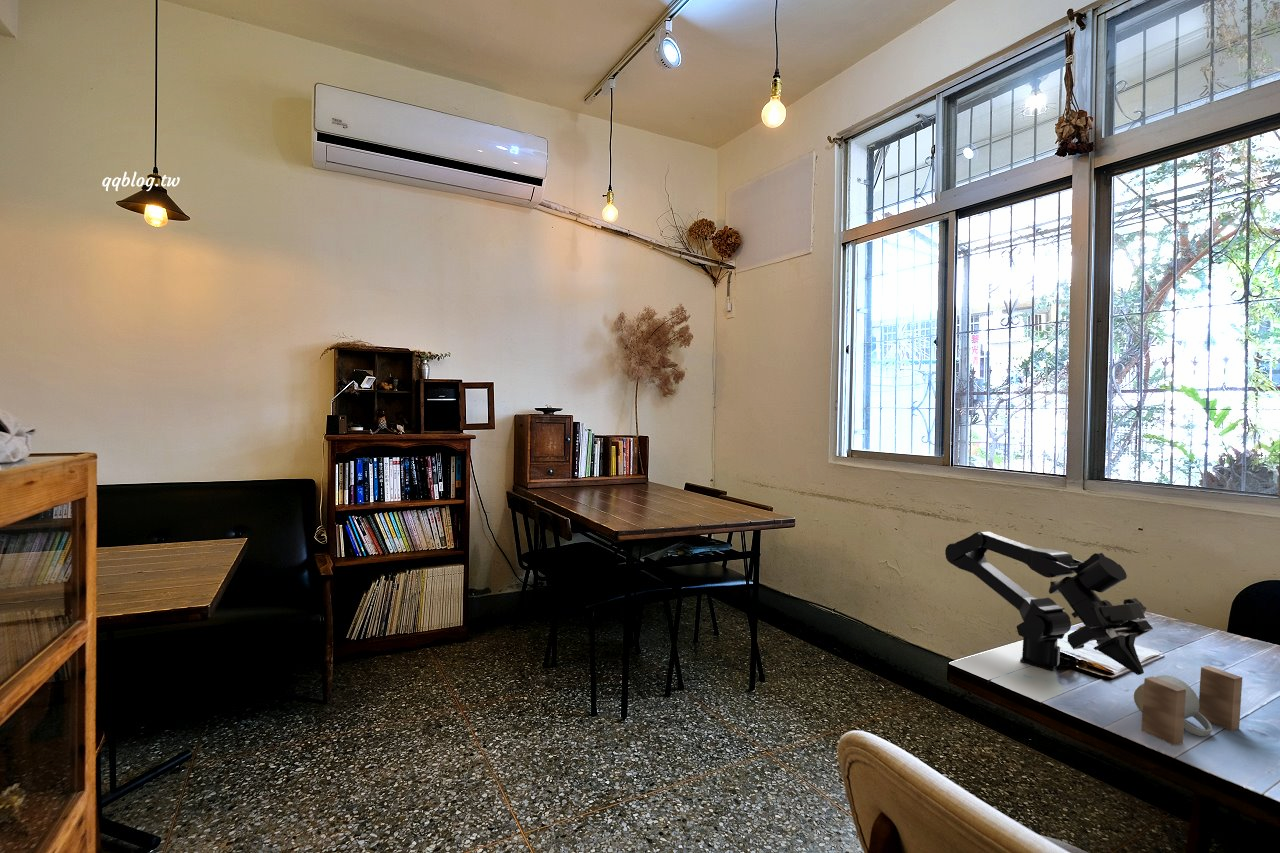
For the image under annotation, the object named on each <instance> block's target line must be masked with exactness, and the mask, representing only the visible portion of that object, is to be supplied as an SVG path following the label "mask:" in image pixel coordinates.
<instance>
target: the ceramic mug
mask: <svg viewBox="0 0 1280 853" xmlns="http://www.w3.org/2000/svg"><path fill="white" fill-rule="evenodd" d="M1155 677H1156V678H1158V679H1161V680H1164V681H1166V682H1169V683H1171V684H1174V685H1176V686H1179V687H1182V688H1184V689H1186V697H1185V714H1184V730H1185V731H1187V732H1189V733H1191V734H1193V735H1196V736H1199V737H1207V736H1209V735H1210V733H1212V731H1213V726H1212V724H1211V722H1209V721H1208V720H1207V719H1206V718H1205V717H1204V716H1203V715H1202V714H1201V713H1200V712H1198V710H1199V696H1197V694H1196V692H1195V691H1194V689H1193V688H1192V687H1191V686H1190V685H1189V684H1187V683H1186V682H1185V681H1183V680H1182V679H1180V678H1178V677H1175V676H1172V675H1167V674H1166V675H1165V674H1162V675H1157V676H1155ZM1134 690H1135V691H1134V694H1133V701H1134V705H1135V706H1136V708H1137V709H1138V711H1139V712H1141V714H1143V696H1144V683H1141V684H1140V685H1138V686H1137V688H1136V689H1134ZM1189 718H1194V719H1195V720H1196V721H1197V722H1199V724H1201V726H1202V727H1203V728H1204V729H1201V728H1198V727H1196V726H1194V725H1192V724H1191V723H1190V722H1188V721H1186V719H1189Z"/></svg>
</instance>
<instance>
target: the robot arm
mask: <svg viewBox="0 0 1280 853" xmlns="http://www.w3.org/2000/svg"><path fill="white" fill-rule="evenodd" d="M944 551H945V552H944V554H945V559H946V560H947V562H948V563H949V564H951V565H953V567H956V568H957V569H959V570H961V571H966V572H968V573H971V574H972V575H974V576H975V577H977V578H978V579H979V580H980V581H982V582H983V584H986V586H987V587H989V588H990V589H991V590H993V591H994V592H995V593H996V594H998V595H999V596H1000V597H1001V598H1002V599H1004V600H1005V601H1006V602H1007V603H1009V604H1010V605H1012V607H1013V608H1015V609H1016V611H1017V610H1018V611H1019V615H1020V617H1021V619H1022V621H1023V622H1021V623H1019V624H1018V625H1016V630H1017V631H1016V632H1017V634H1018V636H1020V637H1022V652H1021V653H1022V654H1021V657H1020V659H1019V661H1020V662H1022V663H1025V664H1028V665H1031V666H1036V667H1038V668H1041V669H1045V670H1049V671H1054V669H1056V667H1058V666H1059V665H1060V658H1061V657H1060V656H1061V655H1060V654H1061V647H1060V646H1059V645H1058V640H1061V639H1062V640H1063V638H1064V636H1065V634H1067V633H1068V632H1070V631H1071V627H1072V621H1071V617H1070V616H1069V614H1068V613H1067V612H1066V611H1065V607H1062V606H1060V605H1058V604H1057V603H1056V602H1055V601H1054V600H1053V599H1051V598H1050V597H1040V598H1036V597H1035V596H1033V595H1032V594H1030V593H1029V592H1028V591H1026V590H1025V589H1023V588H1022V586H1020V585H1019V584H1018V583H1016V582H1014V580H1012V579H1011V578H1009V577H1008V576H1006V575H1005V573H1003V572H1002V571H1000V570H999V569H998V568H997V567H995V566H994V565H992V564H991V563H990V562H988V560H987V558H986V556H985V554H986V553H988V551H990V552H994V553H997V554H999V555H1001V556H1004V557H1007V558H1009V559H1010V558H1011V559H1013V560H1015V561H1018V562H1022V563H1023V564H1025V565H1026V566H1028V568H1029V569H1030V570H1032V571H1033V572H1035V573H1037V574H1038V575H1040V576H1042V577H1044V578H1048V579H1052V578H1060V577H1064V578H1062V579H1061V580H1059V581H1058V580H1053V581H1050V582H1049V584H1050V586H1049V589H1048V593H1049V594H1050V595H1051V594H1052V595H1054V594H1061V595H1062V597H1063V599H1064V600H1065V601H1066V602H1067V604H1068V605H1069V607H1071V609H1072V610H1073V611H1074V612H1072V613H1071V616H1072V617H1073V619H1079V620H1080V621H1081V622H1082V623H1083V626H1081V627H1079V628H1078V629H1076V630H1074V631H1073V632H1071V633H1069V634H1067V643H1068V644H1069V646H1070V647H1071V648H1072V649H1073V650H1079V649H1084V648H1085V644H1087V643H1089V642H1093V641H1096V642H1095V643H1096V644H1097V645H1096V646H1095V647H1093V649H1094V650H1095V651H1098V652H1100V653H1101V654H1103V655H1105V656H1107V657H1109V658H1110V659H1112V660H1114V661H1115V662H1117V663H1118V664H1120V665H1121V666H1123V667H1124V668H1126V669H1127V670H1129V671H1131V672H1132V673H1133V674H1135V675H1137V676H1140V675H1143V674H1144V673H1145V671H1144V668H1143V667H1142V664H1141V660H1140V659H1139V656H1138V654H1137V650H1136V647H1135V641H1136V639H1137V638H1139V637H1141V636H1143V635H1145V634H1146V633H1147V634H1148V633H1150V632H1151V631H1153V630H1154V628H1153V626H1152V625H1151V624H1150V623H1149V622H1148V620H1146V616H1145V613H1146V611H1147V607H1146V606H1145V605H1143V603H1142V602H1140V601H1139V599H1137V598H1136V597H1135V598H1134V597H1133V598H1126V599H1123V603H1122V604H1117V605H1113V604H1112V603H1111V602H1110V601H1109V600H1107V599H1104V600H1102V599H1101V598H1100V597H1099V596H1098V594H1097V593H1105V592H1106V591H1108V590H1109V589H1111V588H1113V587H1116V586H1117V585H1118V584H1120V583H1122V582H1124V580H1126V579H1127V577H1128V575H1127V572H1126V571H1125V569H1124V568H1123V566H1122V565H1121V564H1120V563H1117V562H1116V561H1114V560H1113V559H1112V558H1110V557H1107V556H1105V554H1104V553H1103V552H1095V553H1093V554H1091V555H1090V556H1089V558H1088V559H1086V560H1084V561H1081V560H1079V559H1076V558H1074V557H1073V555H1072V554H1070V553H1069V552H1067V551H1063V550H1057V549H1051V548H1040V547H1034V546H1031V545H1028V544H1025V543H1022V542H1019V541H1016V540H1013V539H1010V538H1008V537H1004V536H1001V535H999V534H995V533H993V532H992V531H987V530H986V531H977V532H974V533H973V534H971V535H970V536H968V537H965V538H962V539H960V540H958V541H955V543H954V542H953V543H949V544H947V545H946V547H945V550H944ZM1073 574H1075V575H1073ZM1070 575H1073V576H1070ZM1096 592H1097V593H1096Z"/></svg>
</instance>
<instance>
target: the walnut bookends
mask: <svg viewBox="0 0 1280 853" xmlns="http://www.w3.org/2000/svg"><path fill="white" fill-rule="evenodd" d="M1156 677H1157V676H1149V677H1144V678H1143V679H1144V696H1143V713H1141V714H1142V716H1141V717H1142V718H1141V719H1142V720H1141V731H1142V732H1144V733H1146V734H1148V735H1151V736H1153V737H1155V738H1157V739H1159V740H1162V741H1163V742H1165V743H1168V744H1170V745H1171V746H1178V745H1181V744H1183V743H1184V730H1185V729H1184V720H1185V719H1184V714H1185V697H1186V689H1184V688H1182V687H1179V686H1176V685H1174V684H1171V683H1169V682H1166V681H1164V680H1161V679H1158V678H1156ZM1242 689H1243V677H1242V676H1240V675H1237V674H1234V673H1231V672H1229V671H1226V670H1222V669H1219V668H1216V667H1213V666H1211V665H1206V666H1201V667H1200V679H1199V693H1198V699H1199V710H1198V712H1200V713H1201V714H1202V715H1203V716H1204V717H1205V718H1206V719H1207V720H1208V721H1209V722H1210V724H1211V723H1212V724H1214V725H1217V726H1219V727H1221V728H1223V729H1226V730H1227V731H1228V730H1229V731H1231V732H1232V731H1236V730H1239V729H1240V721H1241V708H1242V707H1241V703H1242Z"/></svg>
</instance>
